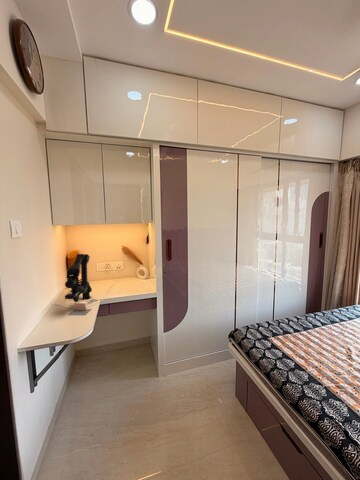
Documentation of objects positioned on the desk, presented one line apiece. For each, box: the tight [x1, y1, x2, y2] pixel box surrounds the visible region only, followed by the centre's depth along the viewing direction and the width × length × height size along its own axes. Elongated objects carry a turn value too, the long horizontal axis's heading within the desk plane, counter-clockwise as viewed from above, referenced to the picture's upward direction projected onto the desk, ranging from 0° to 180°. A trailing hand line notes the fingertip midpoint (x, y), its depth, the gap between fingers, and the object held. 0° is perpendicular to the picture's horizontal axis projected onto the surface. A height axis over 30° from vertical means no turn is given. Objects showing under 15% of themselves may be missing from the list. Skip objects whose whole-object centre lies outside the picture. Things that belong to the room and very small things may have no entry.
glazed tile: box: [74, 301, 89, 311], centre depth 157 cm, size 2×8×7 cm, turn 87°
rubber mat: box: [67, 308, 93, 316], centre depth 156 cm, size 10×14×1 cm
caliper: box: [73, 298, 98, 310], centre depth 167 cm, size 20×1×6 cm
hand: (76, 302), depth 159 cm, fingers closed
